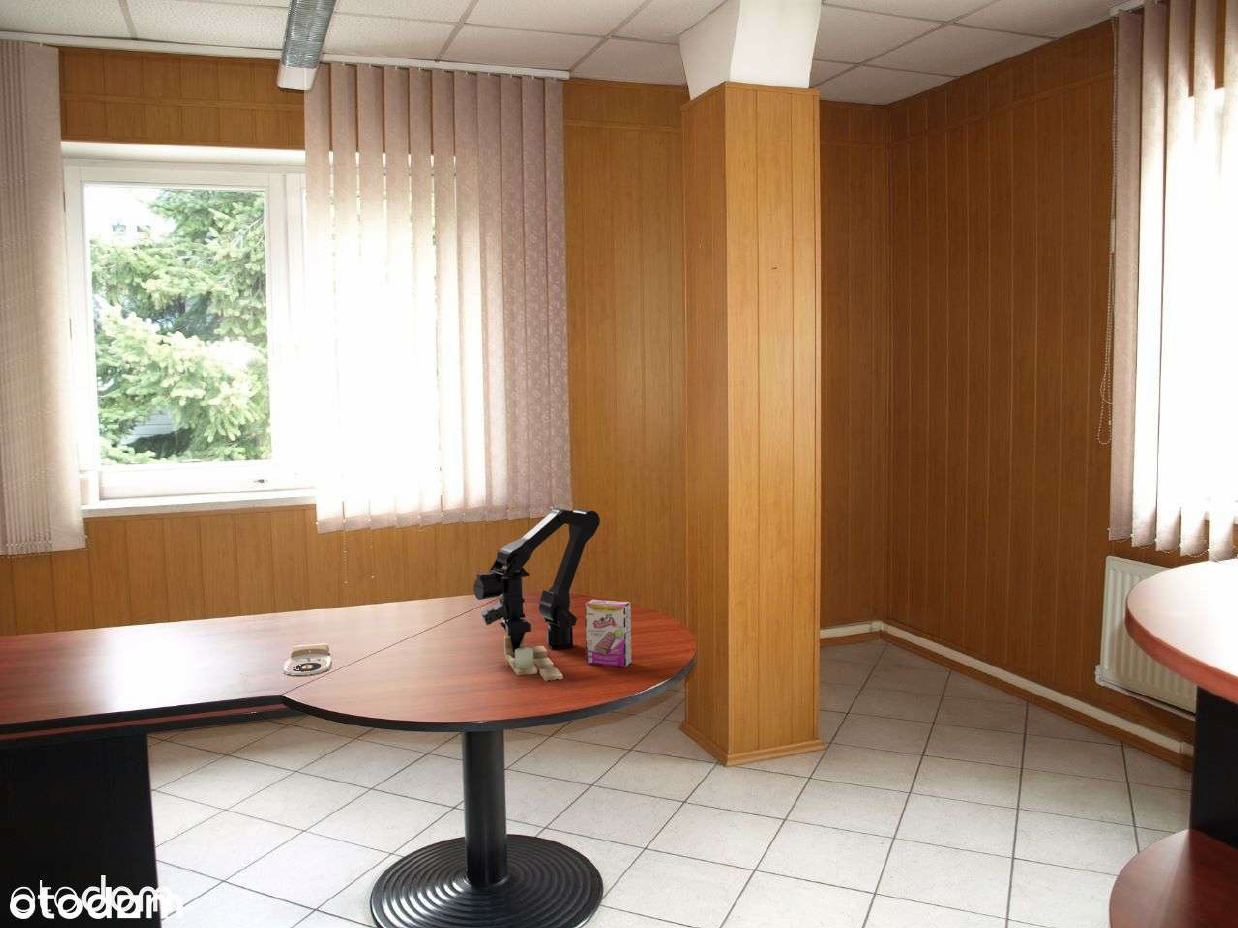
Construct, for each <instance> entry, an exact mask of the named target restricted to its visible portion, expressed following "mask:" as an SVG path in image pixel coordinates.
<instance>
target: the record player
mask: <svg viewBox="0 0 1238 928" xmlns="http://www.w3.org/2000/svg"><path fill="white" fill-rule="evenodd" d="M329 652H330V647H329V644H328V643H316V644H315V643H313V644H300V645H299V644H298V645H295V646H293V649H292V651H291V657H290V658H289V659H286V661H285V662H284V665H283V673H284V672H286V673H288V674H294V675H307V676H310V675H309V674H314V675H317V674H316V673H319V674H321V673H320V672H322V673H324V672H323V671H325V670H327V669H328V670H330V668H331V665H330V664H332V657H331V656H329ZM311 658H312V660H314V659H313V658H318V659H317V660H318V661H320V660H323V659H325V660H326V661H327V664H326V667H325V666H324V667H325V668H323V669H320V670H318V669H319V668H322V667H321V666H322V665H321V664H319V663H303V664H299V665H301V666H299V665H296V669H298V668H299V670H296V669H293V670H294V671H301V672H289V671H288V670H287V668H288V666H289V664H290V663H291V662H293V661H296V662H298V660H299V661H300V662H301V660H300V659H307V661H306V662H311V661H312V660H310V659H311ZM323 662H324V661H323ZM329 667H330V668H329ZM293 668H295V666H294V667H293ZM328 670H327V671H328ZM304 671H305V672H304ZM306 671H310V672H306ZM325 672H326V671H325Z"/></svg>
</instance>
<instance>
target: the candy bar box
mask: <svg viewBox="0 0 1238 928" xmlns="http://www.w3.org/2000/svg"><path fill="white" fill-rule="evenodd" d="M631 604H632V603H631V602H628V601H617V600H615V601H613V600H602V599H601V600H600V599H591V600H589V601H588V602H587V601H586V602H585V604H584V606H585V652H586V653H585V654H586V655H585V658H586V664H587V665H594V666H604V667H605V666H606V667H617V668H627V667H628V666H629V665H630V664H631V663H632V659H633V658H632V620H631V619H632V618H631V617H632V616H631V614H632V612H631V611H632V610H631V609H632V607H631V606H632V605H631Z"/></svg>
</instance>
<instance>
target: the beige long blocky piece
mask: <svg viewBox="0 0 1238 928" xmlns="http://www.w3.org/2000/svg"><path fill="white" fill-rule="evenodd" d="M522 647H525V636H524V637H523V640H522V642H521V644H520V647H519V648H522ZM503 656H504V658H505V659H506V661H507V662H508V664H509V666H510V667H511V668H512V670H513V671H514V673H515V674H516V676H522V675H523V676H524V675H533V674H538V670H537V669H536V667H535V666H534V667H533V668H531V669H526V670H521V669H517V668H516V664H515V653H514V652H513V649H512V644H511V640H510V635H507V634H505V635H503ZM533 665H534V664H533Z"/></svg>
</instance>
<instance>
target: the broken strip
mask: <svg viewBox="0 0 1238 928" xmlns="http://www.w3.org/2000/svg"><path fill="white" fill-rule="evenodd" d="M528 647H529V648H532V649H533V664H534V666H535V667H536V669H537V671H538V670H539V675H540V676H541V677H542V678H543V680H544V681H545V682H548V680H550V681H557V680H556V679H559V680H563V679H564V678H563V677H564V676H563V674H562V673H561V671H560V670H559V669H558V668H557V667H554V666H555V665H554V663H553V660H551V659H550V658H549V657H548V653H549V652H548V650H547V648H545V646H544V645H537V646H528Z"/></svg>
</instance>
